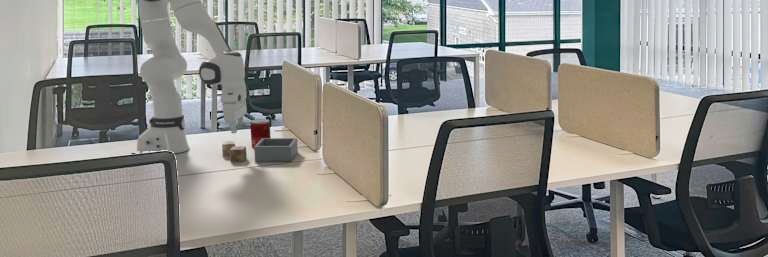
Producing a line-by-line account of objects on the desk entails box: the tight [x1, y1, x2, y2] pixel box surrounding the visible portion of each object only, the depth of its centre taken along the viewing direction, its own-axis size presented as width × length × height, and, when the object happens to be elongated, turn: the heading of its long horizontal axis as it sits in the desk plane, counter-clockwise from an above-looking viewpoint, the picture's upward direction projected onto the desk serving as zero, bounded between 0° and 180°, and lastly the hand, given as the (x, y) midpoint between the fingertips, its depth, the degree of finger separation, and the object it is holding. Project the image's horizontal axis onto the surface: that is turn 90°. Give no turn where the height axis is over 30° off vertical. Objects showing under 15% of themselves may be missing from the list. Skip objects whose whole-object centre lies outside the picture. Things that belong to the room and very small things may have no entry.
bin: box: [253, 137, 299, 163], centre depth 278 cm, size 14×14×6 cm
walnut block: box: [229, 145, 248, 163], centre depth 274 cm, size 5×5×5 cm
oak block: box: [221, 140, 236, 158], centre depth 284 cm, size 5×5×5 cm
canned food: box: [250, 118, 271, 149], centre depth 295 cm, size 8×8×11 cm
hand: (237, 130), depth 272 cm, fingers open, 8 cm apart
